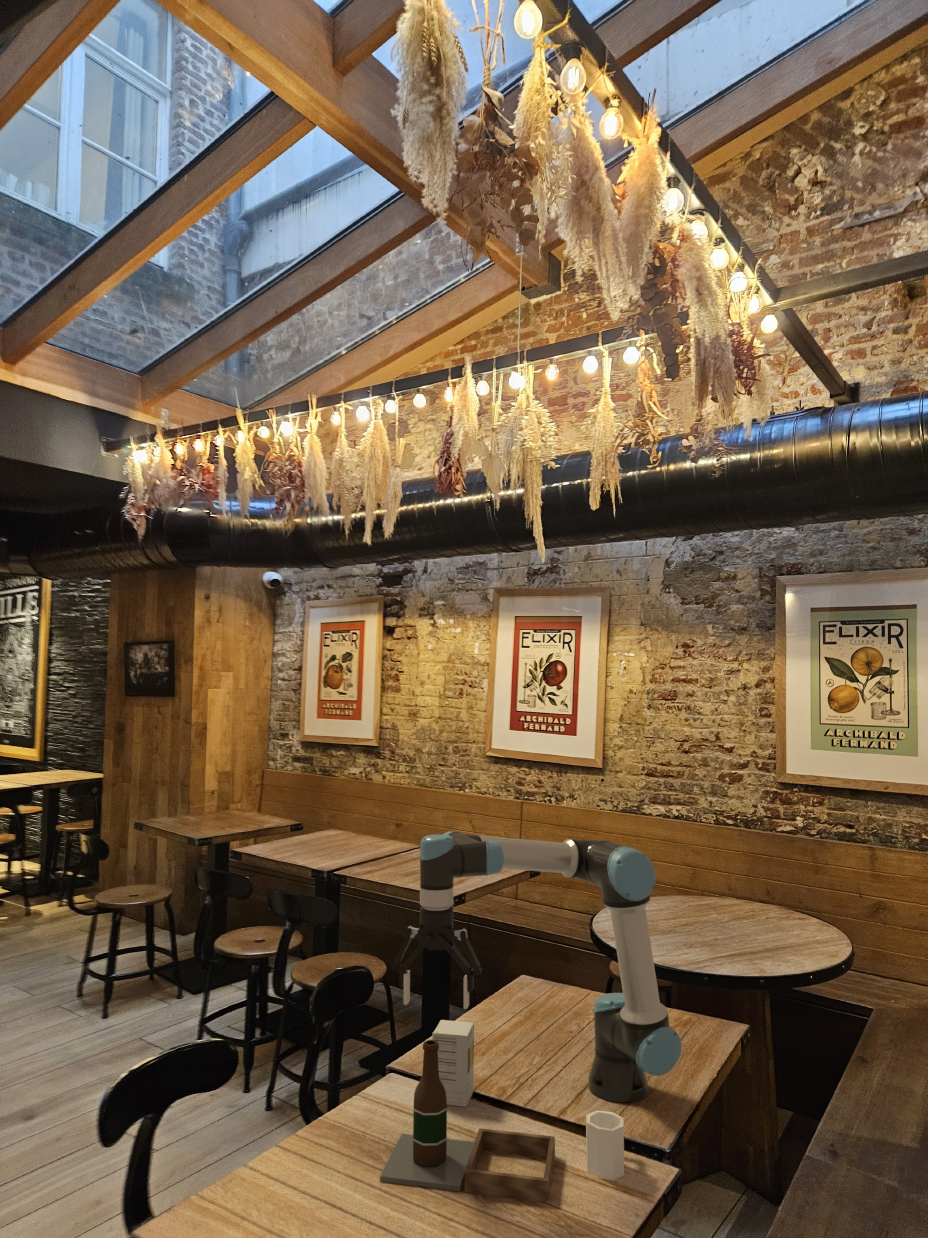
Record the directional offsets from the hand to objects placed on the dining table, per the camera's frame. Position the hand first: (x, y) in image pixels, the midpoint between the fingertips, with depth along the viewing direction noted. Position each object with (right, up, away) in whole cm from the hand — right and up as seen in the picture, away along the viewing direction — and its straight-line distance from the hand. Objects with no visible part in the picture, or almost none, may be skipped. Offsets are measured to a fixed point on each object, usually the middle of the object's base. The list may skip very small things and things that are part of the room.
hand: (436, 1005), depth 179 cm
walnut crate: (+16, -32, -8) cm, 37 cm away
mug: (+37, -33, -4) cm, 50 cm away
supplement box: (+3, -36, +25) cm, 43 cm away
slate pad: (-1, -32, -5) cm, 33 cm away
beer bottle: (-1, -31, -4) cm, 32 cm away
